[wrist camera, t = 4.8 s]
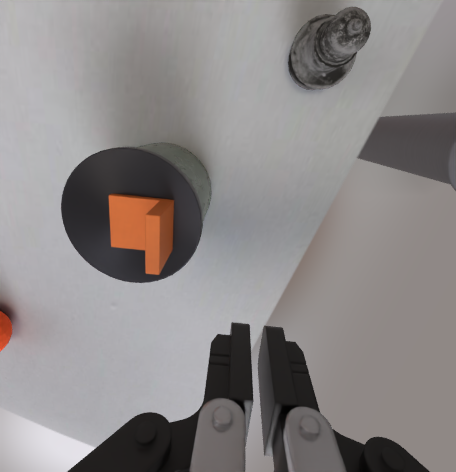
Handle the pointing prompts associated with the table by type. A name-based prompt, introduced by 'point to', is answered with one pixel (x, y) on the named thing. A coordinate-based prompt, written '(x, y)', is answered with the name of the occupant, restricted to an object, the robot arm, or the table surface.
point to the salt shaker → (328, 48)
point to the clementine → (4, 330)
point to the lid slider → (143, 227)
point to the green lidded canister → (135, 184)
